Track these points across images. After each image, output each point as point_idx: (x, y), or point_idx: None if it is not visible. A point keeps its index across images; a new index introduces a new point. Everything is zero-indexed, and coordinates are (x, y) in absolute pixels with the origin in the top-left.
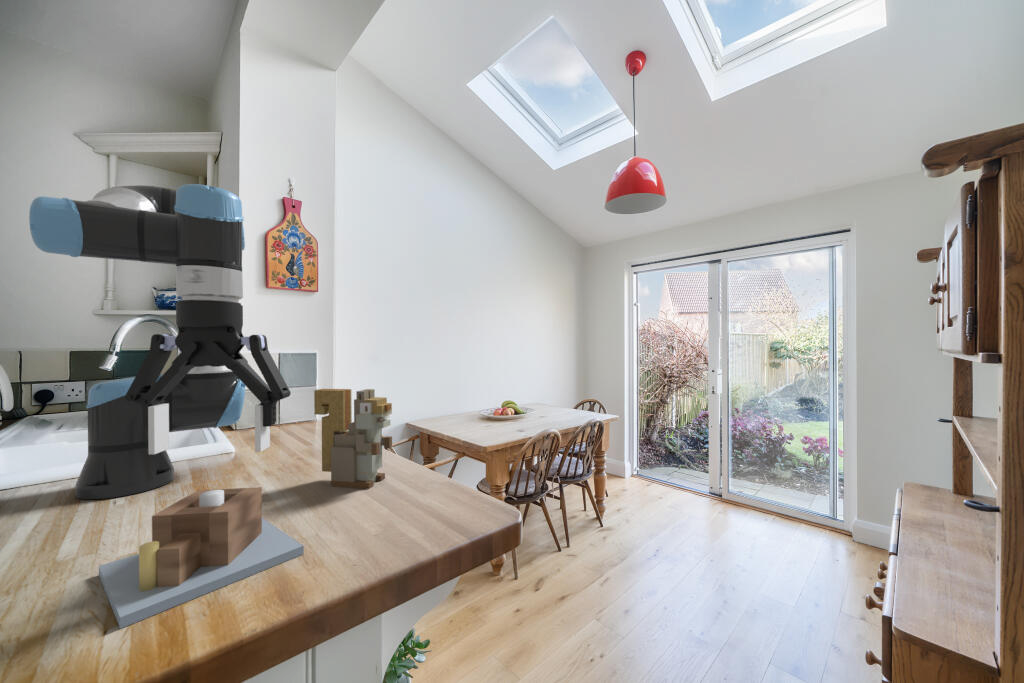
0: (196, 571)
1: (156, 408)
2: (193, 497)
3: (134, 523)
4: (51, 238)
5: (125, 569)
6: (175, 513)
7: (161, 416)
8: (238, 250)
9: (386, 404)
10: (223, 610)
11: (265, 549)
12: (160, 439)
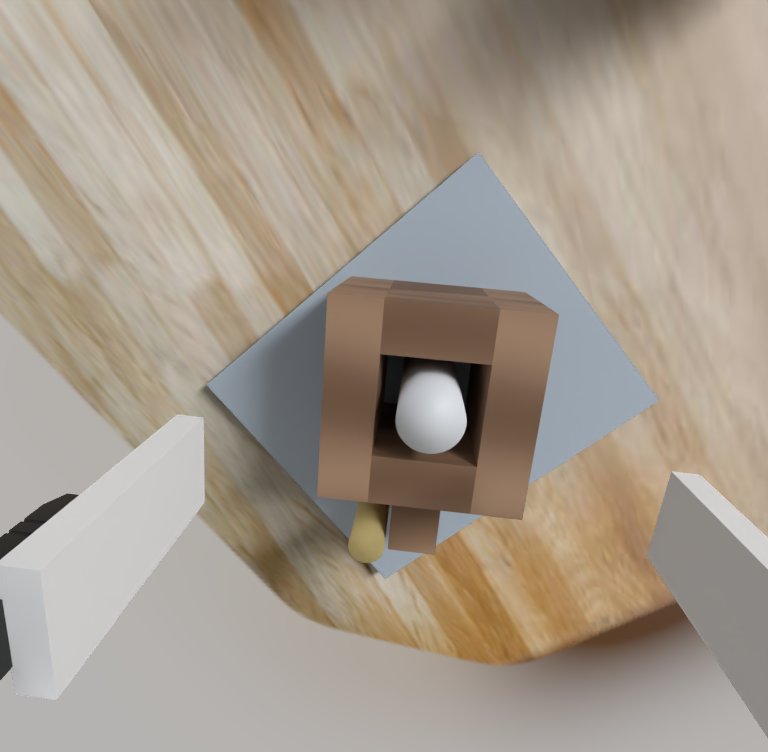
0: None
1: (63, 665)
2: (352, 367)
3: (65, 58)
4: None
5: (278, 415)
6: (372, 493)
7: (103, 575)
8: None
9: None
10: (535, 560)
11: (564, 397)
12: (177, 501)
